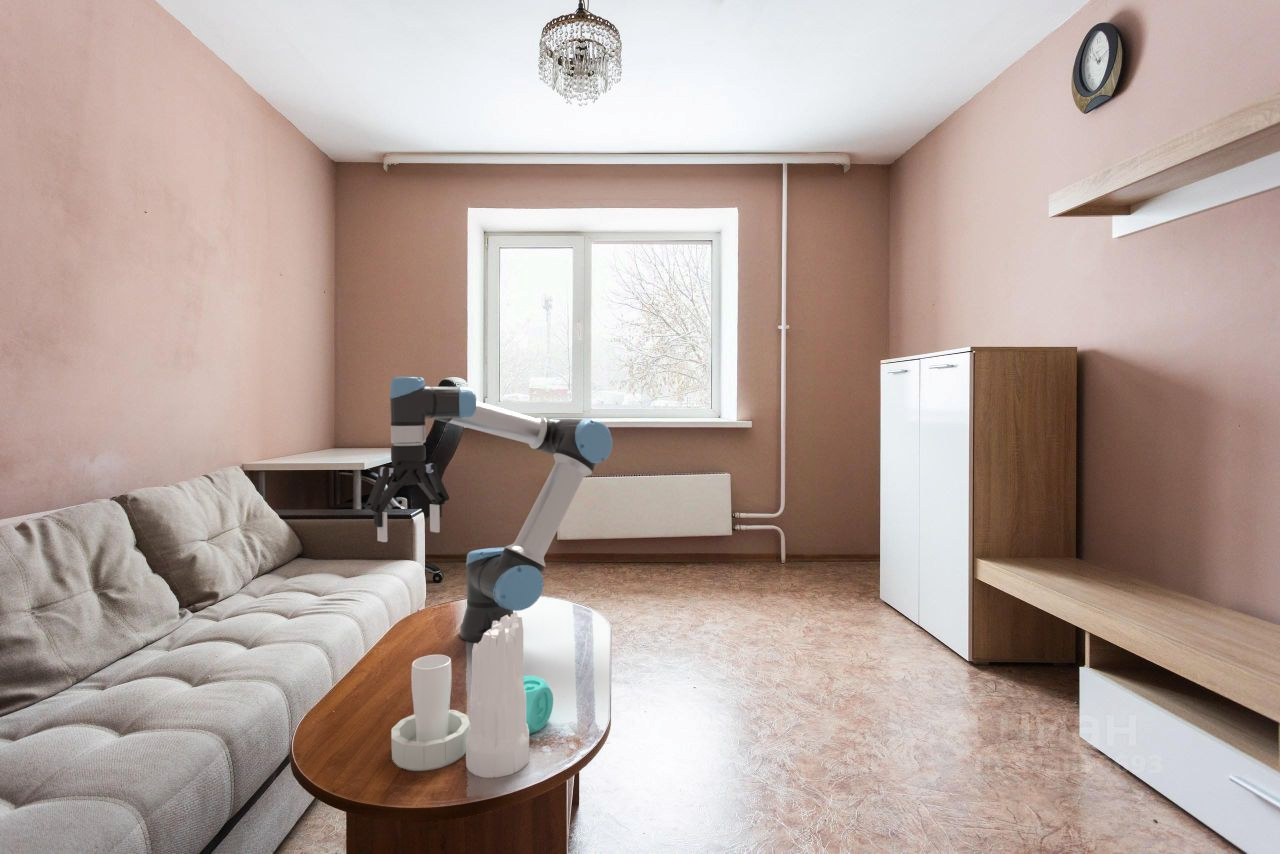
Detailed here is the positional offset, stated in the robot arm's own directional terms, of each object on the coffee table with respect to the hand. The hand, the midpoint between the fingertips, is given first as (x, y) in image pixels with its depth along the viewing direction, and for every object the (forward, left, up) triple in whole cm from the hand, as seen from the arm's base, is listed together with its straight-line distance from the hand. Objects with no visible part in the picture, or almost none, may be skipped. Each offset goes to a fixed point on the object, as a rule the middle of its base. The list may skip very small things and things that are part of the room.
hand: (409, 536), depth 145 cm
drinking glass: (+18, +33, -31) cm, 48 cm away
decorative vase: (+13, +45, -32) cm, 57 cm away
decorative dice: (+2, +39, -32) cm, 51 cm away
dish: (+18, +33, -32) cm, 49 cm away
